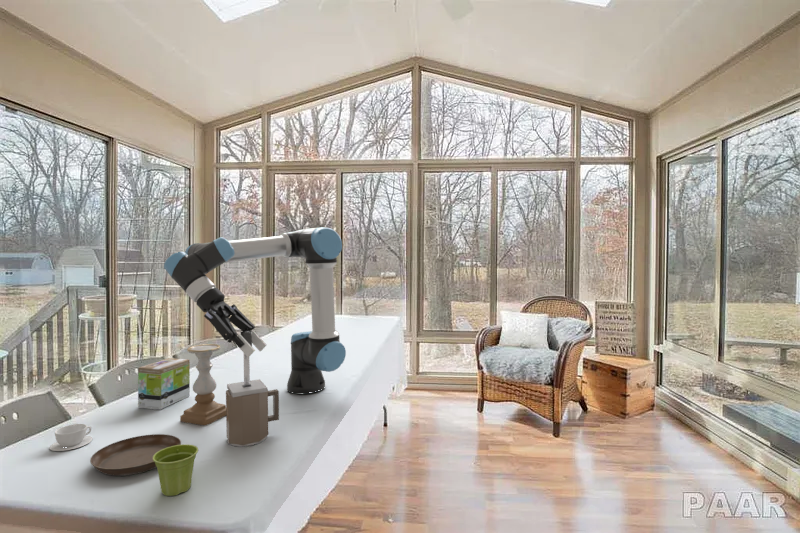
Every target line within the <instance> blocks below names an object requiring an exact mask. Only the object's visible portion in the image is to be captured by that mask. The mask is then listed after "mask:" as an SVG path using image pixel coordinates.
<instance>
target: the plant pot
mask: <svg viewBox="0 0 800 533" xmlns="http://www.w3.org/2000/svg"><path fill="white" fill-rule="evenodd" d="M198 452H199V448H198V447H197V445H194V444H187V443H186V444H181V445H175V446H171V447H167V448H165V449H162V450H160V451H158V452H157V453H155V454H154V456H153V461H154V462H155V464H156V469H157V474H158V479H159V484H160V490H161V493H162V494H163V495H164V496H166V497H169V496H170V497H171V496H177V495H179V494H181V493H186V492H187V491H188V490H189V489H191V486H192V480H193V472H194V464H195V459H196V457H197V454H198Z"/></svg>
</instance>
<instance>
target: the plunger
mask: <svg viewBox="0 0 800 533" xmlns="http://www.w3.org/2000/svg"><path fill="white" fill-rule="evenodd" d="M239 334H241V335H242V336H243V338H244V339H245V340H246V341H247V342H248V343H249V344H250V345H251V346H252V347H253V343H252V331H242V330H241V331H240V332H239ZM250 367H251V366H250V356H249V357H247V356H246V355H245V354H244V353H243V382H244V388H245V387H250V381H251V380H250V377H251V376H250V370H251V369H250ZM244 396H245V395H244Z"/></svg>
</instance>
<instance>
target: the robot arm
mask: <svg viewBox="0 0 800 533" xmlns="http://www.w3.org/2000/svg"><path fill="white" fill-rule="evenodd" d="M342 249H343V243H342V239H341V236H340V234H339V233H338V232H337V231H336V230H334V229H333V228H330V227H326V226H325V227H323V226H320V227H319V226H318V227H311V228H309V227H307V228H304V229H299V230H296V231H295V230H294V231H290V232H283V233H280V235H276V236H268V237H267V236H265V237H257V238H254V237H253V238H247V239H246V238H245V239H244V238H243V239H235V240H228V239H226V238H225V237H223V236H220V237H218V238H216V239H213V240H212V241H211V242H201V243H199V242H198V243H197V242H196V243H193V244H191V245H189V246H188V247H186V249H185V251H178V252H174V253H172V254H171V255H170V256H168V257H167V258H166V259H165V261H164V263H163V267H164V268H163V269H164V270H165V271H166V272H167V274H168V275H169V276H170V277H171V279H172V280H173V281H175V283H176V284H178V286H179V287H180V288H181V289H182V290H183V291H184V293H186V294H187V296H189V299H191V300H192V301H193V303H196V305H197V307H198V308H199V309H200V310H201V311H202V312H203V313H204V315H203V317H204V318H205V319H206V320H208V322H209V323H210V324H211V325H212V327H214V328H215V330H216V331H217V332H218V334H219V335H220V336H221V337H222V338H223V339H224V341H227V342H228V343H232V342H233V343H234V344H235V345H236V346H237V347H238V349H239V350H240V351H241V352H242V353H243V355H244V354H245V355H246V356H247V357H249V358H250V357H251V355H252V354H253V353H254V352H255V351H256V349H257V350H258V352H261V351H263V350H264V349H265V347H267V343H266V342H265V341H264V340H263V339H262V338H261V337H260V335H258V334H257V332H255V328H256V327H255V326H256V325H255V324H254V323H253V322H251V321H250V319H248V318H247V316H245V315H244V313H242V311H240V310H239V309H238V308H239V307H237V305H236V304H234V303H233V304H232V305H229V304H228V303H226V302H225V294H224V293H223V292H222V291H221V290H220V289H219V287H217V286H216V284H215V283H214V282H213V281H212V280H211V279H210V278H209V277H208V275H207V274H209V273H210V272H211V271H213V270H215V269H217V268H218V267H220V266H221V265H223V264H224V263H233V262H241V261H248V260H249V261H250V260H257V259H266V258H275V257H283V258H303V259H305V265H306V266H307V267H308V268H309V273H310V275H309V276H310V280H309V281H310V302H311V303H310V305H311V327H312V328H311V331H303V332H302V331H301V332H296V333H293V334H292V335H291V337H290V338H291V339H290V351H291V352H290V355H291V356H290V361H291V362H290V363H291V366H290V367H291V368H290V369H291V371H290V375H289V378H288V379H287V380H288V381H287V384H286V390H288V391H290V392H293V393H292V394H294V393H309V392H315V391H318V390H321V389H323V388H324V387H325V388H326V380H325V378H324V375H323V372H329V373H331V372H334V371H336V370H338V369H339V368H340V367H341V365H342V364H343V363H344V361H345V358H346V355H347V352H346V347H345V345H343V343H342V342H341V341H340V333H339V332H338V331H337V330H336V321H335V320H336V319H335V318H336V317H335V316H336V313H335V312H336V310H335V291H334V290H335V287H334V286H335V285H334V284H335V283H334V267H335V266H336V265H337V263H338V262H337V261H338V260H337V258H338V256H339V255H340V253H341V252H342ZM234 326H235V327H237V329H239V330H241V332H242V331H252V346H251V345H250V344H249V343H248V342H247V341H246V340H245V339H244V338H243V336H242V335H241V334H240V333H239V334H238V332H237V331H236V329H235V327H234ZM253 346H254V347H255V348H256V349H255V348H254V347H253ZM323 390H324V389H323ZM288 391H287V392H288ZM290 392H289V393H290Z"/></svg>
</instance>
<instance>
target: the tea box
mask: <svg viewBox="0 0 800 533" xmlns="http://www.w3.org/2000/svg"><path fill="white" fill-rule="evenodd" d="M190 363H191V362H190V359H188V358H187V359H185V358H174V357H173V358H171V357H168V358H164V359H161V360H158V361H155V362H152V363H149V364H146V365H145V364H144V365H142V366H139V367H138V368H137V370H138V372H137V373H138V374H137V375H138V377H137V381H138V382H137V383H138V384H137V386H138V387H137V393H138V394H137V398H138V399H137V407H138V408H141V409H149V410H150V409H151V410H161V411H162V410H163V409H164V408H167V407H169V406H171V405H174V404H175V403H177V402H180V401H182V400H184V399H186V398H189V397H190V391H191V390H190V384H191V383H190V380H191V379H190V374H191V372H190V368H191V367H190V366H191V364H190Z"/></svg>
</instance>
